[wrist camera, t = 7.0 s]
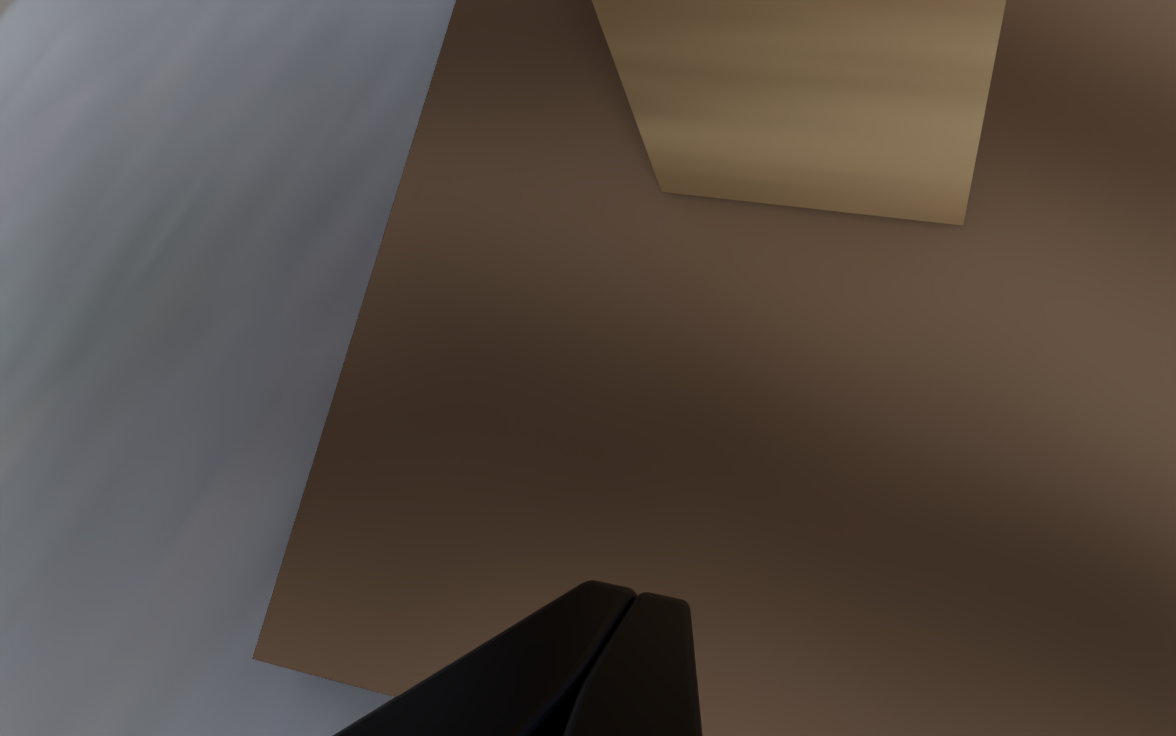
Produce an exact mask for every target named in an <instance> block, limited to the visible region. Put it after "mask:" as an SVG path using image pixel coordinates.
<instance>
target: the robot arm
mask: <svg viewBox="0 0 1176 736" xmlns="http://www.w3.org/2000/svg"><path fill="white" fill-rule="evenodd" d="M333 736H703V734H702V723H701V713H700V703H699V692H698V682H697V671H696V661H695V650H694V640H693V629H692V619H691V610H690V606H689V604H688V603H687V602H686V601H685V600H682V599H678V598H674V597H669V596H664V595H660V594H655V593H651V592H643V593H640V594H639V595H638V596H637V594H636V592H635V591H634V590H633V589H631V588H628V587H624V586H619V585H614V584H610V583H605V582H601V581H596V580H589V581H586V582H583V583H581V584H579V585H578V586H576V587H575V588H573V589H571V590H570V591H568V592H566V593H565V594H563V595H562V596H560V597H558V598H557V599H555V600H553V601H552V602H550V603H548V604H547V605H545V606H544V607H542V608H540V609H539V610H537V611H535V612H534V613H532V614H530V615H529V616H527V617H526V618H524V619H522V620H521V621H519V622H517V623H516V624H514V625H513V626H511V627H509V628H508V629H506V630H504V631H503V632H501V633H499V634H498V635H496V636H495V637H493V638H491V639H490V640H488V641H486V642H485V643H483V644H482V645H480V646H478V647H477V648H475V649H473V650H472V651H470V652H468V653H467V654H465V655H464V656H462V657H460V658H459V659H457V660H455V661H454V662H452V663H451V664H449V665H447V666H446V667H444V668H442V669H441V670H439V671H437V672H436V673H434V674H433V675H431V676H429V677H428V678H426V679H424V680H423V681H421V682H420V683H418V684H416V685H415V686H413V687H411V688H410V689H408V690H406V691H405V692H403V693H402V694H400V695H398V696H397V697H395V698H393V699H392V700H390V701H389V702H387V703H385V704H384V705H382V706H380V707H379V708H377V709H375V710H374V711H372V712H371V713H369V714H367V715H366V716H364V717H362V718H361V719H359V720H357V721H356V722H354V723H353V724H351V725H349V726H348V727H346V728H344V729H343V730H341V731H340V732H338V733H336V734H335V735H333Z"/></svg>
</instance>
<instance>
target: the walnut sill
mask: <svg viewBox="0 0 1176 736" xmlns="http://www.w3.org/2000/svg"><path fill="white" fill-rule="evenodd" d="M589 580H596V581H601V582H605V583H610V584H614V585H619V586H624V587H628V588H631V589H633V590H634V591H635V592H636V594H637V596H638V595H639V594H640V593H643V592H651V593H655V594H660V595H664V596H669V597H674V598H678V599H682V600H685V601H686V602H687V603H688V604H689V606H690V610H691V619H692V629H693V640H694V650H695V661H696V671H697V682H698V692H699V703H700V713H701V723H702V734H703V736H1176V0H1006V4H1005V9H1004V15H1003V20H1002V25H1001V30H1000V36H999V41H998V46H997V51H996V57H995V62H994V67H993V72H992V78H991V83H990V88H989V93H988V98H987V104H986V109H985V114H984V119H983V125H982V130H981V135H980V140H979V146H978V151H977V156H976V161H975V167H974V172H973V177H972V182H971V187H970V193H969V198H968V203H967V208H966V214H965V219H964V224H963V225H954V224H945V223H936V222H927V221H918V220H909V219H900V218H891V217H882V216H873V215H864V214H855V213H846V212H837V211H828V210H819V209H810V208H801V207H792V206H783V205H774V204H765V203H757V202H748V201H739V200H730V199H721V198H712V197H703V196H694V195H685V194H676V193H667V192H661V189H660V186H659V183H658V181H657V178H656V175H655V172H654V170H653V167H652V164H651V161H650V159H649V156H648V153H647V151H646V148H645V145H644V142H643V140H642V137H641V134H640V131H639V129H638V126H637V123H636V120H635V118H634V115H633V112H632V109H631V107H630V104H629V101H628V98H627V96H626V93H625V90H624V88H623V85H622V82H621V79H620V77H619V74H618V71H617V68H616V66H615V63H614V60H613V57H612V55H611V52H610V49H609V46H608V44H607V41H606V38H605V35H604V33H603V30H602V27H601V25H600V22H599V19H598V16H597V14H596V11H595V8H594V5H593V3H592V0H456V3H455V6H454V9H453V13H452V16H451V19H450V22H449V25H448V29H447V32H446V35H445V38H444V42H443V45H442V48H441V51H440V55H439V58H438V61H437V64H436V67H435V71H434V74H433V77H432V80H431V84H430V87H429V90H428V93H427V96H426V100H425V103H424V106H423V109H422V113H421V116H420V119H419V122H418V126H417V129H416V132H415V135H414V138H413V142H412V145H411V148H410V151H409V155H408V158H407V161H406V164H405V167H404V171H403V174H402V177H401V180H400V184H399V187H398V190H397V193H396V197H395V200H394V203H393V206H392V209H391V213H390V216H389V219H388V222H387V226H386V229H385V232H384V235H383V238H382V242H381V245H380V248H379V251H378V255H377V258H376V261H375V264H374V268H373V271H372V274H371V277H370V280H369V284H368V287H367V290H366V293H365V297H364V300H363V303H362V306H361V309H360V313H359V316H358V319H357V322H356V326H355V329H354V332H353V335H352V339H351V342H350V345H349V348H348V351H347V355H346V358H345V361H344V364H343V368H342V371H341V374H340V377H339V380H338V384H337V387H336V390H335V393H334V397H333V400H332V403H331V406H330V410H329V413H328V416H327V419H326V422H325V426H324V429H323V432H322V435H321V439H320V442H319V445H318V448H317V451H316V455H315V458H314V461H313V464H312V468H311V471H310V474H309V477H308V481H307V484H306V487H305V490H304V493H303V497H302V500H301V503H300V506H299V510H298V513H297V516H296V519H295V522H294V526H293V529H292V532H291V535H290V539H289V542H288V545H287V548H286V552H285V555H284V558H283V561H282V564H281V568H280V571H279V574H278V577H277V581H276V584H275V587H274V590H273V593H272V597H271V600H270V603H269V606H268V610H267V613H266V616H265V619H264V623H263V626H262V629H261V632H260V635H259V639H258V642H257V645H256V648H255V652H254V655H253V658H252V659H255V660H259V661H262V662H266V663H270V664H274V665H277V666H281V667H285V668H289V669H292V670H296V671H300V672H304V673H307V674H311V675H315V676H319V677H322V678H326V679H330V680H334V681H337V682H341V683H345V684H348V685H352V686H356V687H360V688H363V689H367V690H371V691H375V692H378V693H382V694H386V695H390V696H393V697H397V696H398V695H400V694H402V693H403V692H405V691H406V690H408V689H410V688H411V687H413V686H415V685H416V684H418V683H420V682H421V681H423V680H424V679H426V678H428V677H429V676H431V675H433V674H434V673H436V672H437V671H439V670H441V669H442V668H444V667H446V666H447V665H449V664H451V663H452V662H454V661H455V660H457V659H459V658H460V657H462V656H464V655H465V654H467V653H468V652H470V651H472V650H473V649H475V648H477V647H478V646H480V645H482V644H483V643H485V642H486V641H488V640H490V639H491V638H493V637H495V636H496V635H498V634H499V633H501V632H503V631H504V630H506V629H508V628H509V627H511V626H513V625H514V624H516V623H517V622H519V621H521V620H522V619H524V618H526V617H527V616H529V615H530V614H532V613H534V612H535V611H537V610H539V609H540V608H542V607H544V606H545V605H547V604H548V603H550V602H552V601H553V600H555V599H557V598H558V597H560V596H562V595H563V594H565V593H566V592H568V591H570V590H571V589H573V588H575V587H576V586H578V585H579V584H581V583H583V582H586V581H589Z"/></svg>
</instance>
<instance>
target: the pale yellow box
mask: <svg viewBox="0 0 1176 736" xmlns="http://www.w3.org/2000/svg"><path fill="white" fill-rule="evenodd" d="M592 3H593V5H594V8H595V11H596V14H597V16H598V19H599V22H600V25H601V27H602V30H603V33H604V35H605V38H606V41H607V44H608V46H609V49H610V52H611V55H612V57H613V60H614V63H615V66H616V68H617V71H618V74H619V77H620V79H621V82H622V85H623V88H624V90H625V93H626V96H627V98H628V101H629V104H630V107H631V109H632V112H633V115H634V118H635V120H636V123H637V126H638V129H639V131H640V134H641V137H642V140H643V142H644V145H645V148H646V151H647V153H648V156H649V159H650V161H651V164H652V167H653V170H654V172H655V175H656V178H657V181H658V183H659V186H660V189H661V192H667V193H676V194H685V195H694V196H703V197H712V198H721V199H730V200H739V201H748V202H757V203H765V204H774V205H783V206H792V207H801V208H810V209H819V210H828V211H837V212H846V213H855V214H864V215H873V216H882V217H891V218H900V219H909V220H918V221H927V222H936V223H945V224H954V225H963V224H964V219H965V214H966V208H967V203H968V198H969V193H970V187H971V182H972V177H973V172H974V167H975V161H976V156H977V151H978V146H979V140H980V135H981V130H982V125H983V119H984V114H985V109H986V104H987V98H988V93H989V88H990V83H991V78H992V72H993V67H994V62H995V57H996V51H997V46H998V41H999V36H1000V30H1001V25H1002V20H1003V15H1004V9H1005V4H1006V0H592Z"/></svg>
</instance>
